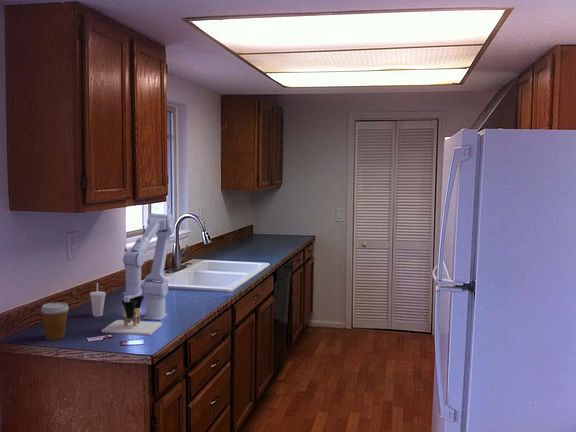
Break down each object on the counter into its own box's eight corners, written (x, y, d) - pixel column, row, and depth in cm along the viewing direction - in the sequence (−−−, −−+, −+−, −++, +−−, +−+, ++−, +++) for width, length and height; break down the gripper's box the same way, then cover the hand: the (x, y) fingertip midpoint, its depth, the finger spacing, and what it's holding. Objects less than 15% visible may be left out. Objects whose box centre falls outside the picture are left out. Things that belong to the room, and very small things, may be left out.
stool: (127, 321, 222) (128, 307, 222) (141, 322, 222) (141, 308, 221) (122, 325, 217) (122, 310, 216) (136, 326, 216) (136, 311, 216)
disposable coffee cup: (36, 336, 205) (36, 304, 204) (62, 332, 211) (62, 300, 210) (46, 343, 198) (46, 309, 197) (73, 338, 204) (73, 305, 203)
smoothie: (100, 312, 241) (100, 280, 239) (108, 315, 237) (109, 283, 235) (86, 315, 236) (87, 282, 234) (95, 318, 232) (95, 285, 230)
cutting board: (117, 321, 228) (117, 319, 228) (162, 324, 226) (162, 322, 226) (101, 332, 213) (101, 330, 213) (149, 335, 211) (149, 333, 211)
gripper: (130, 277, 225) (130, 310, 226) (116, 285, 211) (115, 320, 212) (147, 278, 225) (146, 311, 226) (134, 286, 210) (133, 321, 211)
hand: (133, 316), depth 219 cm, fingers closed on stool, 5 cm apart
